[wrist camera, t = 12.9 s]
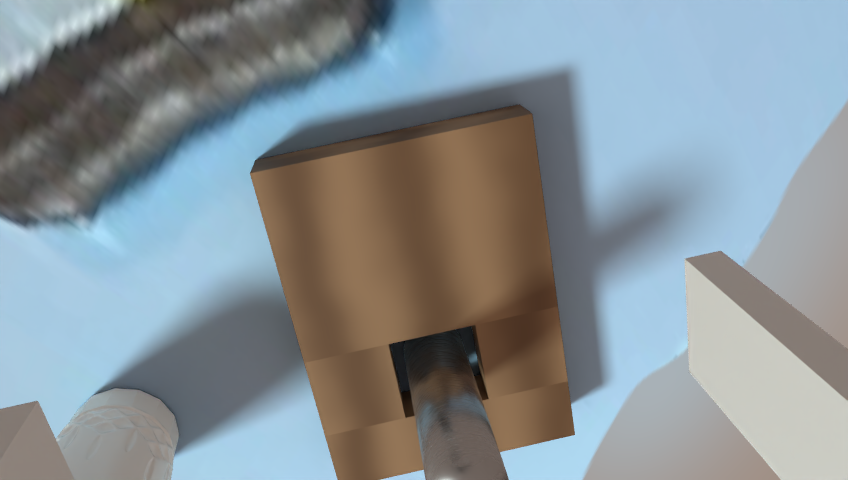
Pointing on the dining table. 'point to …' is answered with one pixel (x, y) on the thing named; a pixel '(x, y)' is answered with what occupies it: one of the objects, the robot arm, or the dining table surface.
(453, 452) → the peg
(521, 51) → the dining table surface
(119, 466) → the white cup
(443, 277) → the socket board
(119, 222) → the dining table surface
